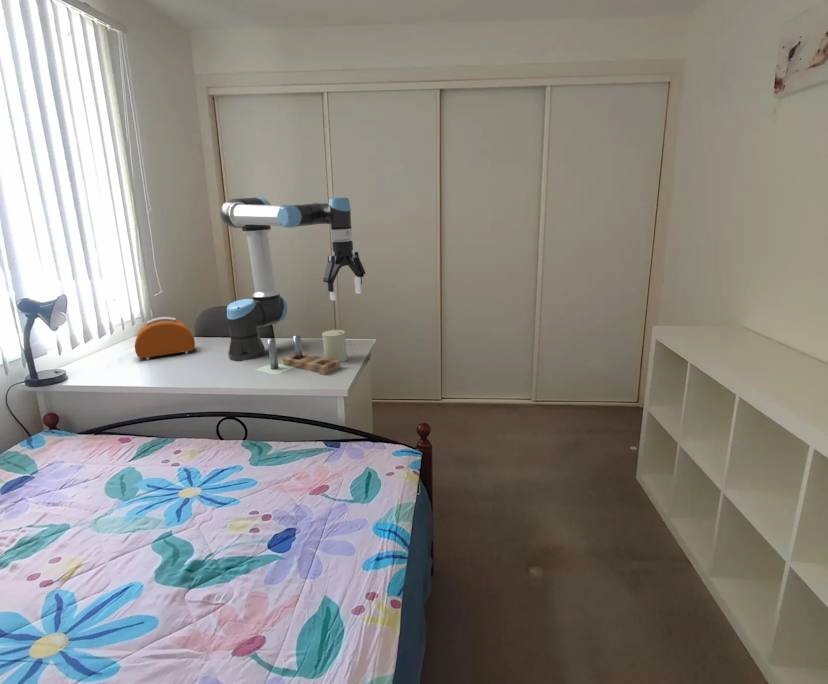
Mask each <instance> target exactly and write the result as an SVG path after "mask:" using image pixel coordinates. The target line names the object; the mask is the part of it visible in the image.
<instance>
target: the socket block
mask: <svg viewBox="0 0 828 684" xmlns="http://www.w3.org/2000/svg"><path fill="white" fill-rule="evenodd" d="M302 354H303V358H302V359H300V360H298V359H295V353H294V354H291V355H289V356H286V357H284V358H282V364H283V365H285V366H290V367H294V368H293V369H298V370H304V371H309V372H313V373H318V374H319V375H323V376H324V375H327V374H330V373H332V372H334V371H337V370H339V369H341V362H340V361H339V360H334V359H329V358H325V357H324V356H318V355H313V354H308V353H303V352H302Z"/></svg>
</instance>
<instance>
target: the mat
mask: <svg viewBox="0 0 828 684" xmlns="http://www.w3.org/2000/svg"><path fill="white" fill-rule="evenodd" d="M278 366H279V368H278V369H276V370H272V369H271V366H270V363H269V364H267V365H264V366H262V367H261V366H260V367H259V368H255V369H254V371H257V372H262V373H264V374H265V373H266V374H269V375H274V376H277V375H279V374H282V373H284V372H286V371H289V370H291V369H295V368H294V367H290V366H285V365H283V363H279V362H278Z"/></svg>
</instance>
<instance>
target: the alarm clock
mask: <svg viewBox="0 0 828 684" xmlns="http://www.w3.org/2000/svg"><path fill="white" fill-rule="evenodd" d="M194 337H195V336H194V334H193V332H192V330H190V328H189V327H188V326H187V325H186V324H185V323H184V322H181V321H179V320H177V318H176V317H171V316H160V317H155V318H153V319H152V318H151V319H149V320H148V321H146V324H145V325H144V326H143V327H141V328H140V330H139V331H138V333H137V336H136V338H135V341H134V350H135V354H136V356H137V357H138V358H140V359H146V360H147V361H150V358H152V357H158V356H165V355H173V354H178V353H185V355H187V354H189V352H190V351H191V352H193V350H194V349H195V348H196V342H195V338H194Z"/></svg>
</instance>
